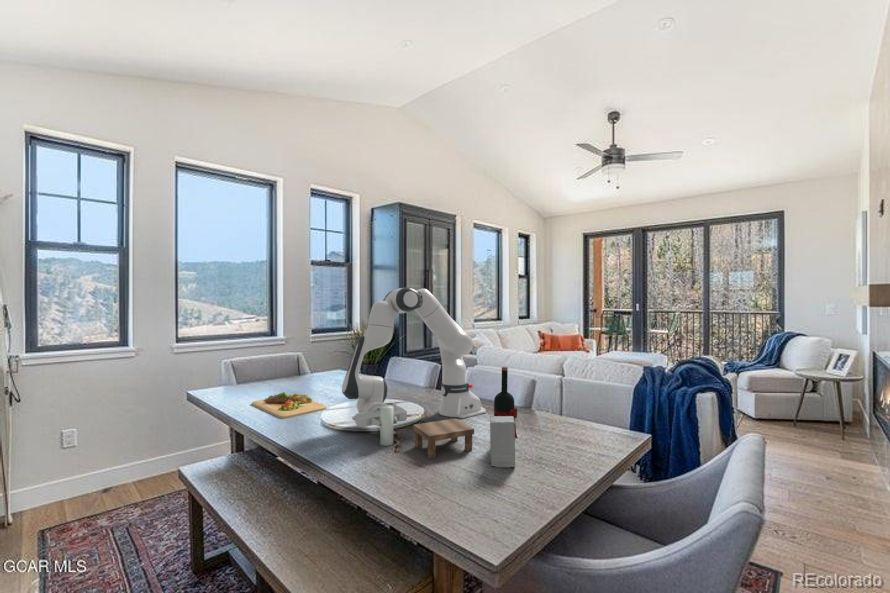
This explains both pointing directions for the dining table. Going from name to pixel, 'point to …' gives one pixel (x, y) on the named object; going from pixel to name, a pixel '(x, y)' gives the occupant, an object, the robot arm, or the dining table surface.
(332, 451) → the dining table surface
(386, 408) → the pale green cylinder
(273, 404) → the cutting board
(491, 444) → the skincare box
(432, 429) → the walnut stool
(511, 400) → the wine bottle
